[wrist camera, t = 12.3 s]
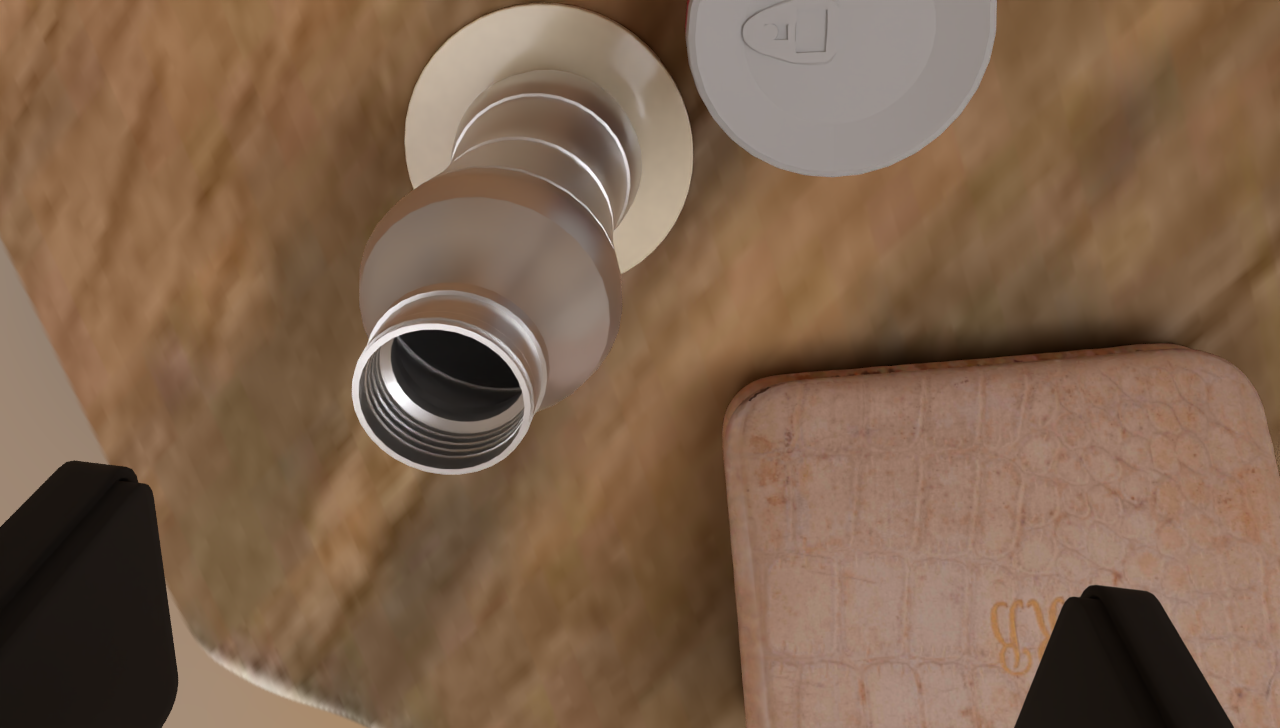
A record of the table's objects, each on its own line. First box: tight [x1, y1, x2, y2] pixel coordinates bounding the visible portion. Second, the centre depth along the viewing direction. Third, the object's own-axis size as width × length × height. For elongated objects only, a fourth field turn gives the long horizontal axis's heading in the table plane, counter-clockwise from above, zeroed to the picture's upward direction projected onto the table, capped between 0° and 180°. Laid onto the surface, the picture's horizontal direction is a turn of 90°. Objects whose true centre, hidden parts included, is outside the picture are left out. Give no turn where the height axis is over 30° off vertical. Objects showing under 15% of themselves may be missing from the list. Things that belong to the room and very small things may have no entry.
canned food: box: [685, 0, 997, 177], centre depth 31 cm, size 8×8×11 cm
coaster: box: [404, 2, 693, 274], centre depth 39 cm, size 11×11×1 cm
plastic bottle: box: [352, 70, 642, 474], centre depth 30 cm, size 6×7×20 cm
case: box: [722, 343, 1280, 728], centre depth 39 cm, size 20×21×16 cm
